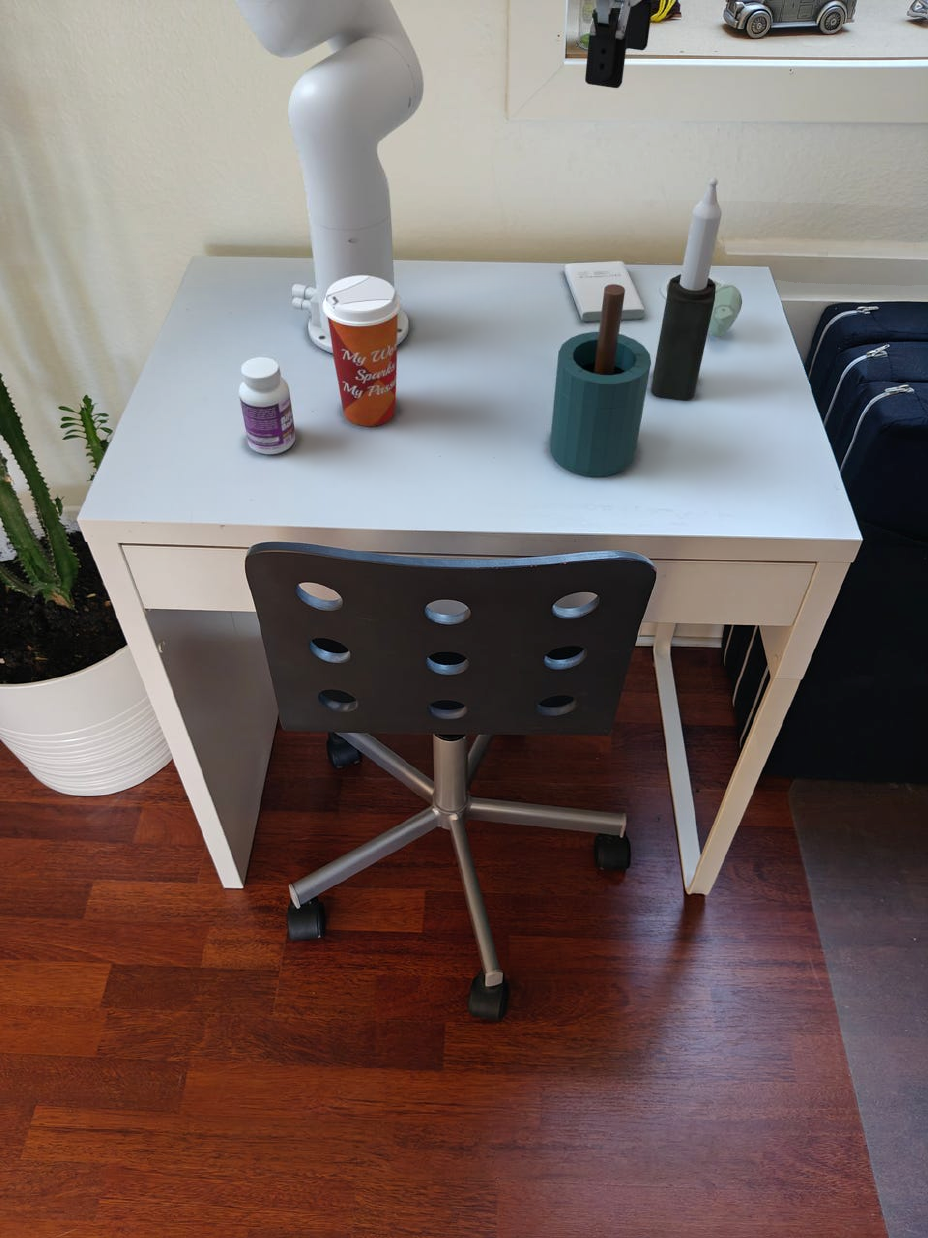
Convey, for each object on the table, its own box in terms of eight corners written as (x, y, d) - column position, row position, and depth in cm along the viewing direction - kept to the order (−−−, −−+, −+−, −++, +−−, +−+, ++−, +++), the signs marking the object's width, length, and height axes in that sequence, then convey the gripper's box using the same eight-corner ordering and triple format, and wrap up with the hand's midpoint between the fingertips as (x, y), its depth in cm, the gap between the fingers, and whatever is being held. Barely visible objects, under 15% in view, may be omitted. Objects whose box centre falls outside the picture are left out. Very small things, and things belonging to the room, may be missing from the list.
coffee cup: (350, 440, 112) (339, 321, 101) (323, 401, 117) (309, 283, 105) (418, 419, 114) (414, 301, 103) (388, 382, 119) (382, 265, 108)
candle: (693, 401, 117) (739, 191, 99) (649, 396, 118) (687, 186, 99) (695, 376, 121) (740, 169, 102) (653, 371, 121) (689, 164, 103)
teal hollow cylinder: (539, 465, 109) (547, 372, 100) (563, 416, 115) (572, 324, 106) (623, 485, 107) (639, 391, 98) (643, 434, 113) (659, 341, 104)
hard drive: (581, 323, 128) (564, 273, 137) (643, 319, 129) (622, 270, 137) (582, 311, 127) (565, 262, 135) (645, 308, 128) (624, 259, 136)
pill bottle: (297, 453, 110) (286, 379, 103) (248, 458, 109) (234, 384, 102) (295, 424, 114) (284, 350, 106) (248, 428, 113) (234, 354, 106)
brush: (571, 452, 110) (589, 295, 96) (581, 431, 112) (599, 275, 98) (606, 460, 109) (630, 303, 95) (615, 439, 111) (639, 282, 97)
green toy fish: (695, 317, 129) (705, 269, 124) (726, 317, 130) (737, 269, 124) (707, 352, 124) (718, 303, 119) (740, 352, 124) (752, 303, 119)
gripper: (624, -196, 84) (600, 29, 97) (567, -153, 73) (549, 94, 86) (712, -189, 82) (677, 39, 95) (668, -144, 72) (634, 107, 84)
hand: (616, 65), depth 91 cm, fingers open, 9 cm apart
